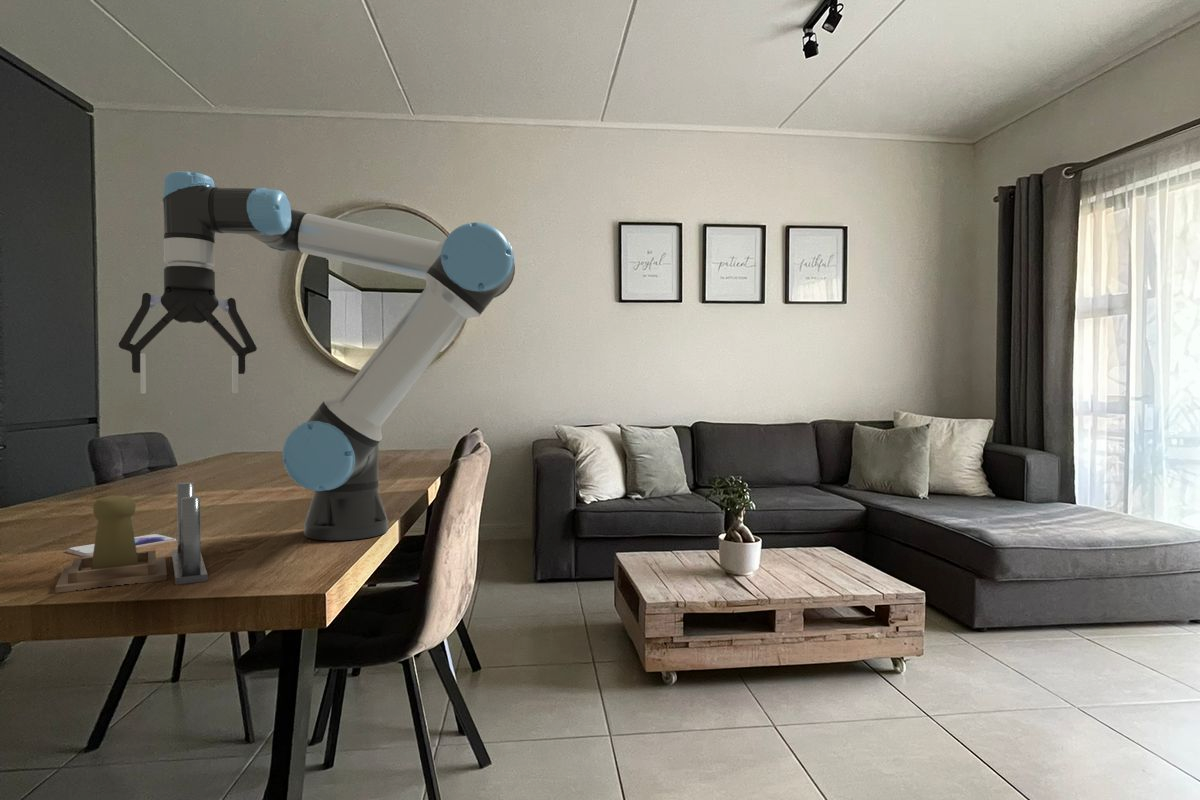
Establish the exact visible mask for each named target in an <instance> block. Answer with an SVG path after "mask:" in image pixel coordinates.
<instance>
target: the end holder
mask: <svg viewBox="0 0 1200 800" xmlns="http://www.w3.org/2000/svg"><path fill="white" fill-rule="evenodd" d="M136 552H137V558H138V564H139V565H130V566H121V567H111V568H101V569H92V570H91V566H92V559H93V556H89V557H83V556H79V557H74V558H73V561H72V563H71V565H67V566H64V567H63V570H62V572H61V573H60V576H59V578H58V580H57V583H56V585H55V591H54V592H55V594H59V593H60V594H61V593H68V592H76V590H78V591H84V589H86V590H92V589H91V588H95V589H98V588H97V587H103V588H107V587H106V586H112V587H116V586H115V585H121V586H125V585H124V584H129V585H136V584H135V583H138V584H144V583H145V584H146V583H153V582H155V583H156V582H163V581H167V580H168V572H167V564H166V563H167V562H166V556H165V555H163V556H157V555H156V554H157V553H156V550H155V549H153V550H144V551H136Z"/></svg>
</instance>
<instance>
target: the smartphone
mask: <svg viewBox="0 0 1200 800" xmlns="http://www.w3.org/2000/svg"><path fill="white" fill-rule="evenodd" d="M134 539H135V546H136V549H141V548H145V547H150V546H156V545H161V544H167V543H173V542H176V541H177V539H176V538H175V537H171V536H168V535H163V534H159V533H152V534H145V535H140V536H139V535H138V536H134ZM94 545H95V543H91V544H85V545H79V546H78V545H77V546H73V547H68V548H67V549H66V553H68V554H71V555H76V556H79V557H90V556H93V552H94Z"/></svg>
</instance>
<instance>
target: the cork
mask: <svg viewBox="0 0 1200 800" xmlns="http://www.w3.org/2000/svg"><path fill="white" fill-rule="evenodd" d="M92 508H93V515H94V517H95V518H96V519H97V524H96V525H97V526H96V532H95V538H94V539H95V540H94V544H95V545H94V552H93V559H92V566H91V570H92V569H101V568H111V567H121V566H130V565H139V564H138V558H137V552H138V551H137V548H136V546H135V539H134V537H135V536H134V529H133V522H132V517H133V515H134V514H135V512H136V503H135V500H134V499H133V497H131V496H129V495H120V494H114V495H107V496H104V497H100V498H98V499H96V501H95V502H94V503H93V507H92Z"/></svg>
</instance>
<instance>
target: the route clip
mask: <svg viewBox="0 0 1200 800" xmlns="http://www.w3.org/2000/svg"><path fill="white" fill-rule="evenodd" d="M176 504H177V506H176V507H177V508H176V509H177V510H176V511H177V512H176V513H177V514H176V516H177V517H176V518H177V519H176V520H177V521H176V522H177V523H176V524H177V525H176V526H177V528H176V529H177V532H176V534H177V539H176V541H177V549H171V561H172V568H173V569H172V570H173V575H174V584H176V585H175V586H177V585H178V584H179V585H186V584H194V583H195V584H196V583H203V582H208V581H209V580H208V571H207V568H206V565H205V562H204V558H203V555H202V552H201V497H200V496H195V483H194V482H179V483H177V484H176Z"/></svg>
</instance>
